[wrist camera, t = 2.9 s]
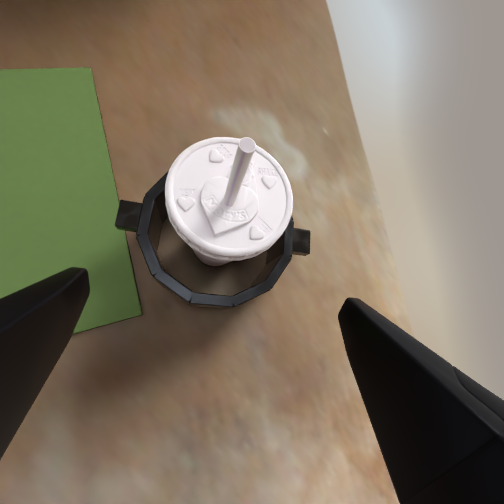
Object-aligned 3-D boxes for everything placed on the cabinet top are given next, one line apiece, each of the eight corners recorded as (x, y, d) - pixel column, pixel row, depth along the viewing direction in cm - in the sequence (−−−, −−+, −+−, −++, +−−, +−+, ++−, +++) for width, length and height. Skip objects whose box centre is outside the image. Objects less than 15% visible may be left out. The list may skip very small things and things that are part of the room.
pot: (286, 314, 22) (309, 314, 17) (117, 299, 19) (96, 294, 15) (291, 201, 24) (313, 177, 20) (144, 174, 22) (132, 140, 17)
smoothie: (162, 264, 20) (105, 168, 7) (194, 197, 22) (199, 21, 9) (237, 294, 21) (315, 258, 8) (262, 226, 23) (359, 105, 10)
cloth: (142, 314, 19) (141, 314, 19) (-128, 389, 15) (-135, 391, 15) (91, 70, 23) (90, 67, 22) (-137, 76, 19) (-142, 72, 18)
